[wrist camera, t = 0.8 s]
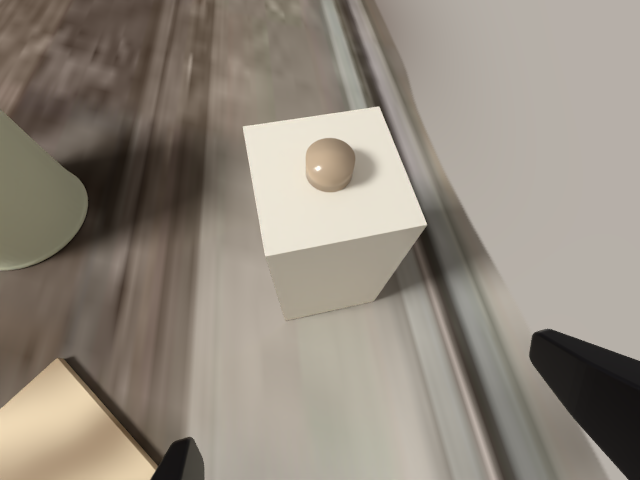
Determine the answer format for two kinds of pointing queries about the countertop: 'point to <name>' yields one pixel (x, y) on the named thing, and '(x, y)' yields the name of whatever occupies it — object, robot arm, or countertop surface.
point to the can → (34, 200)
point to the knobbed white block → (331, 208)
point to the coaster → (66, 434)
